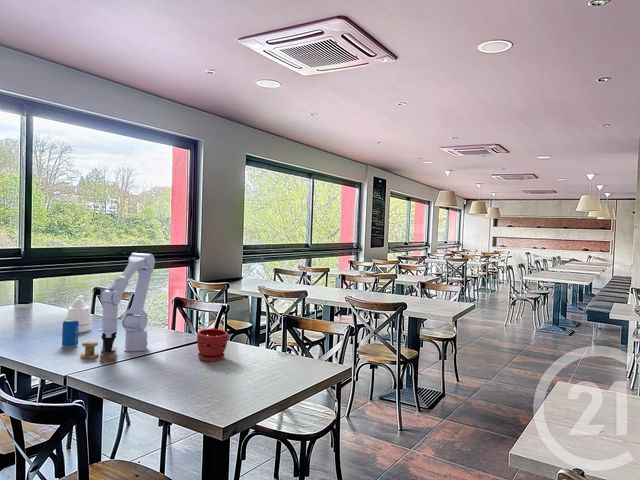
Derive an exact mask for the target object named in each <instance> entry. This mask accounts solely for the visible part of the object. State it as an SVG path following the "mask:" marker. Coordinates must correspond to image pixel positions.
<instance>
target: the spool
mask: <svg viewBox="0 0 640 480" xmlns="http://www.w3.org/2000/svg"><path fill="white" fill-rule="evenodd" d="M81 343H82V344H81V346H82V347H84V352H82V353H80V356H79V357H80V359H82V360H92V359H93V360H94V359H97V358H98V357H100V354H99V352H96V351H95V347H97V346H98V345H99V342H98V341H96V340H88V341H87V340H86V341H83V342H81Z"/></svg>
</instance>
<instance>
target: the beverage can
mask: <svg viewBox="0 0 640 480" xmlns="http://www.w3.org/2000/svg"><path fill="white" fill-rule="evenodd" d="M78 330H79V322H78V319H63V322H62V330H61V331H62V334H61V335H62V336H61V338H62V339H61V345H62V347H63V348H67V349H68V348H76V346H77V345H79V333H78Z"/></svg>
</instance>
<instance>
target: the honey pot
mask: <svg viewBox="0 0 640 480" xmlns="http://www.w3.org/2000/svg"><path fill="white" fill-rule="evenodd" d="M84 298H85V296H84V295H78V296H77V298H75V299H74V300H73V302H72V303H71V305H70V306H69V307H68V311H67V313H66V316H65V319H78V322H79V330H78V332H79V333H87V332H89V331H92V318H91V316H92V315H91V314H90V311H89V309H91V308H90V306H89V305H87V303H85V301H84ZM65 319H64V320H65ZM86 331H87V332H86Z"/></svg>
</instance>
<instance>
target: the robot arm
mask: <svg viewBox="0 0 640 480" xmlns="http://www.w3.org/2000/svg"><path fill="white" fill-rule="evenodd" d="M155 264H156V259H155V257H154V254H153V253H142V252H141V253H138V252H132V253H131V254H130V256H129V257H128V264H127V265H126V267H125V269H124V271H122V274H121V275H120V276H117V277H116V278H115V279H114V280H113V281H112V283H111V285H110V286H109V287H108V289H105V290H104V291H103V292H101V294H100V297H99V300H100V302H101V308H102V320H101V321H102V322H101V324H102V325H101V326H102V327H101V328H99V329H98V332H102V333H101V334H102V335H101V340H102V343H103V342H104V346H105V352H111V350H112V347H114V346H113V345H114V342H115V339H117V333H118V314H119V313H118V309H119V304H120V303H121V301H122V298H123V297H122V296H123V295H124V294H123V293H124V291H125V290H126V288H127V287H128V286H129V280H130V279H131V278H132V276H134V274H135V273H136V272H137V274H138V278H137V281H136V287H135V290H134V294H133V299H132V302H131V303H132V304H131V307H130V308H128V309H127V310H126V311H125V312H124V313H125V314H124V315H123V318H122V319H121V325H122V328H124V331H125V340H124V346H123V352H144V351H146V352H147V350H148V349H147V347H148V329H146V328H147V325H148V316H149V314H148V312H146V311H145V310H144V309H145V308H144V307H145V303H146V299H147V296H148V295H147V294H148V290H149V286H150V281H151V278H152V277H151V276H152V274H153V273H154V270H155V269H154V268H155Z"/></svg>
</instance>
